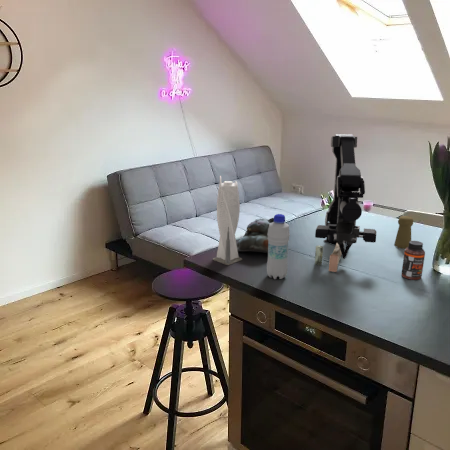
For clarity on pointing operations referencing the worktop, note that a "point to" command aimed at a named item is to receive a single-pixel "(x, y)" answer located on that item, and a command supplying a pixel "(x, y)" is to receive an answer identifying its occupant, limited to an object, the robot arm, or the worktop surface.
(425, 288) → the worktop surface
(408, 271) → the supplement bottle
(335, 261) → the light brown wooden plank
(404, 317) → the worktop surface
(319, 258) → the gate posts
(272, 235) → the bottle
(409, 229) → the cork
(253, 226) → the grey lumpy mass
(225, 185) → the skyscraper
